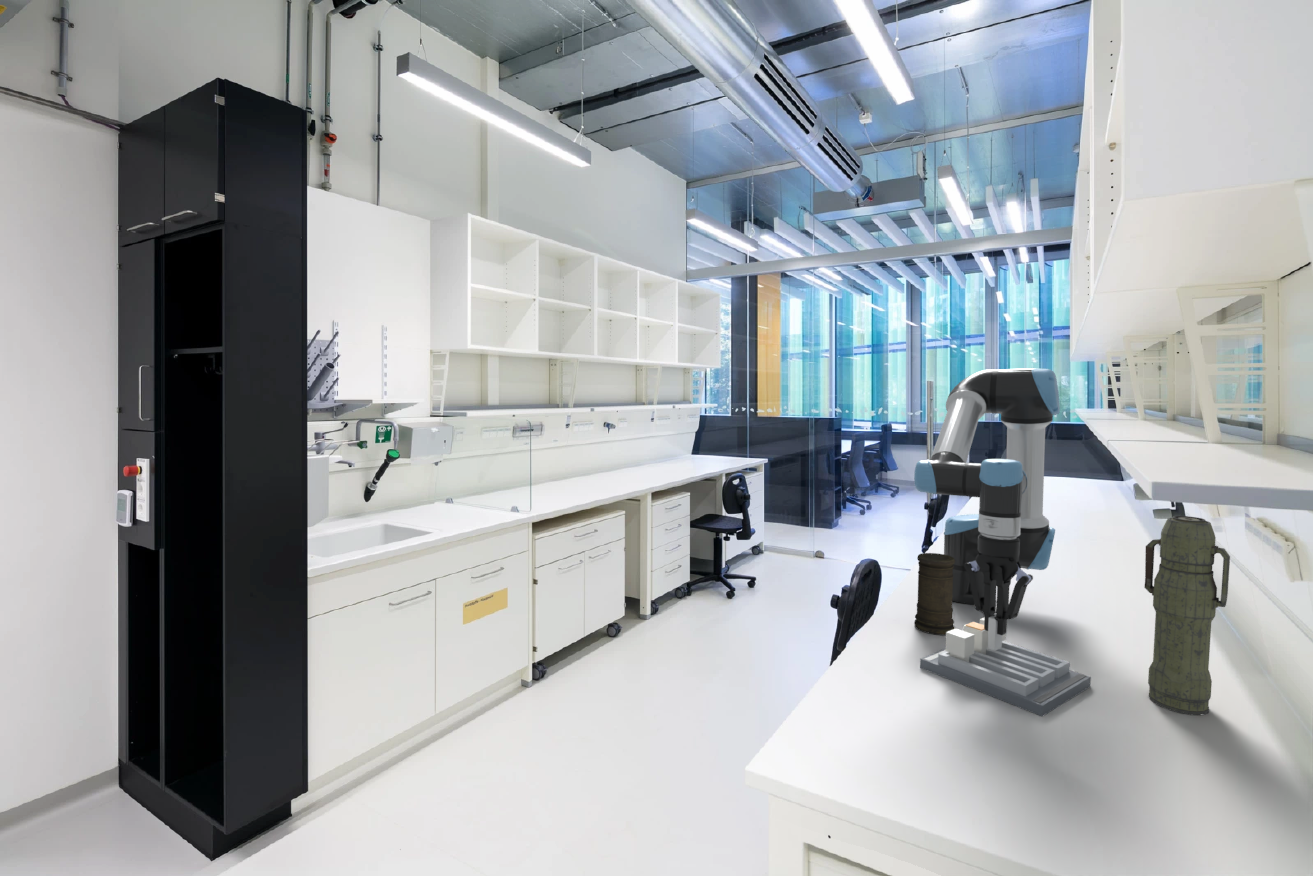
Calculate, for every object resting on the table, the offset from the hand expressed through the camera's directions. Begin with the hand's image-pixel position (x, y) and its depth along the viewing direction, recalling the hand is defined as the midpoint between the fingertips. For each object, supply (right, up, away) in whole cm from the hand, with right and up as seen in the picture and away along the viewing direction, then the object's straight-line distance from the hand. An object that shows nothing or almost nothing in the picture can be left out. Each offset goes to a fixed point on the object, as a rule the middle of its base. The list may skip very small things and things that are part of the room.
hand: (994, 647), depth 128 cm
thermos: (+28, -7, -12) cm, 31 cm away
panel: (+1, -6, -1) cm, 6 cm away
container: (-1, -4, +25) cm, 25 cm away
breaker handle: (-2, -3, +3) cm, 5 cm away
